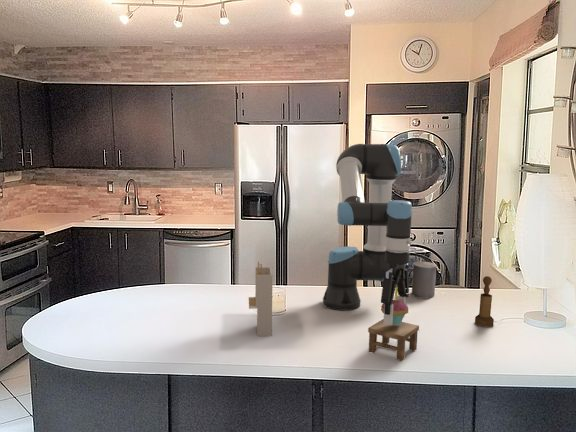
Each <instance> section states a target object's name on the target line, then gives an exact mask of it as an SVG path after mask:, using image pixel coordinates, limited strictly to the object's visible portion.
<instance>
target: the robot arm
mask: <svg viewBox="0 0 576 432" xmlns="http://www.w3.org/2000/svg"><path fill="white" fill-rule="evenodd" d="M335 169H336V173H337V175H338V176H339V181H340V190H341V202H338V203H337V210H336V211H337V213H336V214H337V215H336V216H337V218H336V219H337V220H336V221H337V224H339V225H340V226H342V225H343V226H348V227H351V226H367V242H366V243H365V244H364V245H363V249H362V250H359V249H358V247H357V246H349V245H348V246H341V247H340V246H339V247H336V248H333V249H331V250H330V251H329V253H328V260H327V263H328V268H327V269H328V270H327V286H326V289H325V292H324V295H323V297H322V305H323V306H324V307H325V308H328V309H331V310H337V311H349V310H350V311H353V310H356V309H358V308H360V307H361V297H360V293H359V290H358V287H357V286H358V283H357V282H358V281H375V282H376V281H379V282H382V281H383V282H382V283H383V284H382V290H381V299H380V303H381V304H383V303H384V313H383V319H384V323H385V324H389V325H392V324H393V304H392V301H393V300H394V298H395V290H396V286H397V287H398V291H397V300H398V301H401V302H404V303H405V304H406V298H409V296H410V295H409V293H410V287H409V284H410V283H409V281H410V280H409V269H410V268H409V267H410V265H409V263H410V254H411V252H410V249H411V244H412V241H411V235H412V234H411V233H412V232H411V231H412V216H413V210H412V209H413V206H412V205H413V204H412V202H411V201H407V200H402V199H401V200H400V199H399V200H397V199H394V200H392V193H393V183H395V182H396V181H397V176H399V175H401V173H402V157H401V153H400V149H399V147H398V146H397V145H395V144H388V143H381V144H380V143H372V144H371V143H356V144H353V145H350V146H348V147H347V148H345V149H344V150H343V151H342V152H341V153H340V154H339V156H338V158H337V161H336V164H335ZM361 175H366V176H365V179H366V180H367V181H368V183H369V194H368V195H369V198H368V200H369V201H368V202H366V201H365V195H364V187H363V182H362V176H361ZM405 315H406V314H405ZM405 315H404V317H405Z"/></svg>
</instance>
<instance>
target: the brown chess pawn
mask: <svg viewBox="0 0 576 432" xmlns="http://www.w3.org/2000/svg"><path fill="white" fill-rule="evenodd" d="M492 281H493V280H492V278H491V277H490V276H489V275H486V276H484V277H483V278H482V282H483V284H484V287H483V288H482V289H483V292H482V293H480V296H479V298H480V300H479V301H480V302H479V312H478V314H477V315H476V316H474V317H475V318H474V324H475V325H476V326H479V327H484V328H491V327H493V326H494V323H495V322H494V318H493V317H492V316H491V310H492V300H493V295H492V294H490V292H491V288H490V285H491V284H492Z"/></svg>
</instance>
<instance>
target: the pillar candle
mask: <svg viewBox="0 0 576 432" xmlns="http://www.w3.org/2000/svg"><path fill="white" fill-rule="evenodd" d="M412 267H413V269H412V281H411V282H412V284H411V285H412V287H411V296H414V297H415V298H421V299H431V298H434V296H435V293H436V291H435V290H436V280H437V279H436V277H437V264H436V263H433V262H431V261H416V262H414V263H413V266H412Z"/></svg>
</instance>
